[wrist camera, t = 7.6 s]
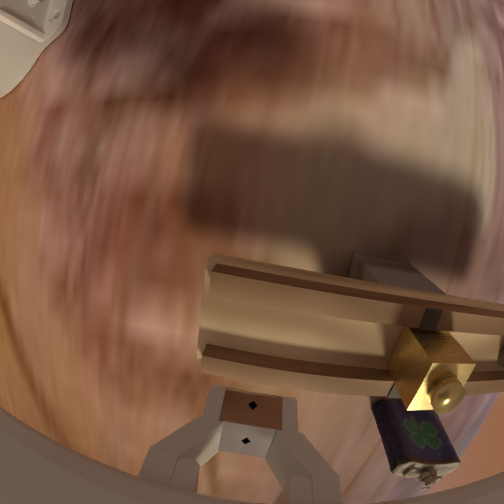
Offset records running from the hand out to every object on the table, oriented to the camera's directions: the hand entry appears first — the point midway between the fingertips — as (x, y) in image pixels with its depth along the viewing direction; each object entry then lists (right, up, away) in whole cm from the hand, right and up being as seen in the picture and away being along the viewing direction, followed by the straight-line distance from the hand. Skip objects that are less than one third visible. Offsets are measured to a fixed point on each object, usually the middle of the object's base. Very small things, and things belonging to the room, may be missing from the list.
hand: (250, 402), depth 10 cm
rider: (+10, 0, +6) cm, 11 cm away
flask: (+17, -12, +17) cm, 26 cm away
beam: (+10, +2, +13) cm, 17 cm away
